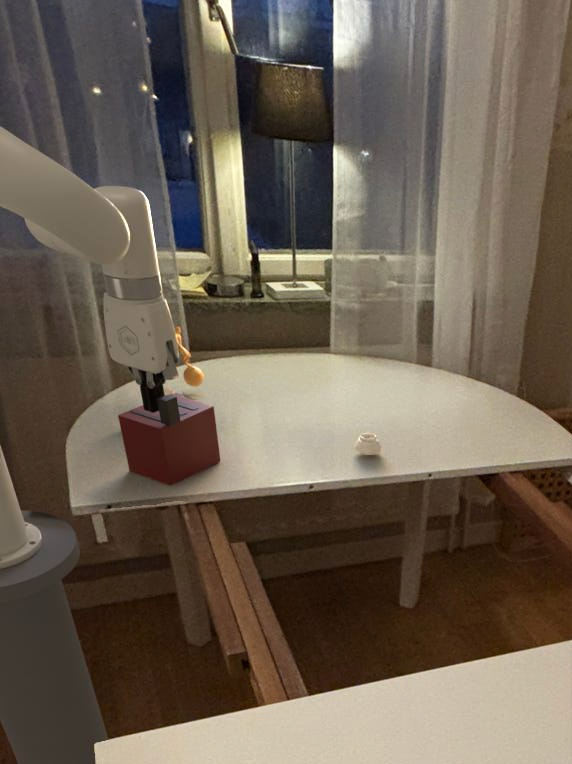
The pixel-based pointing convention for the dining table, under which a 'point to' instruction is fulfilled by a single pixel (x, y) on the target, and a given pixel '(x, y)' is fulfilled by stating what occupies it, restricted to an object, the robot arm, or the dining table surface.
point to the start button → (168, 391)
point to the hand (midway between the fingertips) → (155, 408)
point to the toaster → (170, 442)
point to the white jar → (368, 444)
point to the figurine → (191, 374)
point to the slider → (168, 409)
